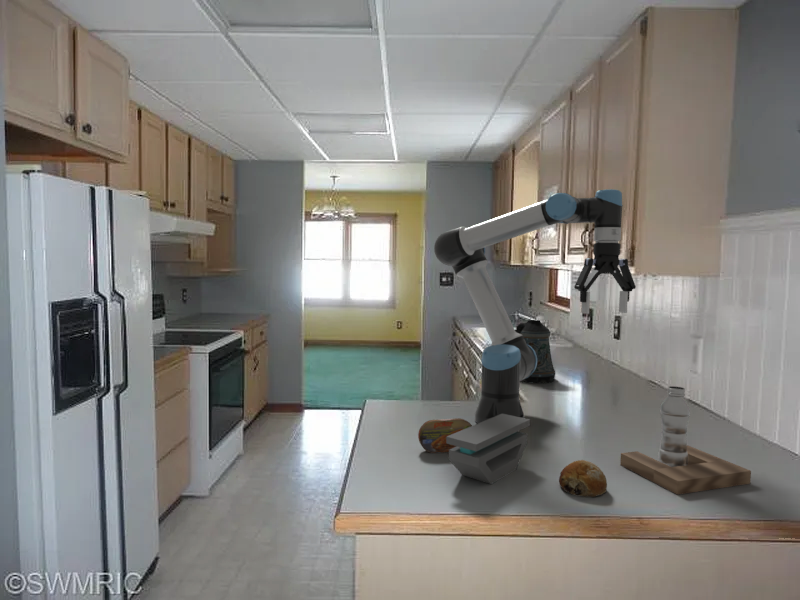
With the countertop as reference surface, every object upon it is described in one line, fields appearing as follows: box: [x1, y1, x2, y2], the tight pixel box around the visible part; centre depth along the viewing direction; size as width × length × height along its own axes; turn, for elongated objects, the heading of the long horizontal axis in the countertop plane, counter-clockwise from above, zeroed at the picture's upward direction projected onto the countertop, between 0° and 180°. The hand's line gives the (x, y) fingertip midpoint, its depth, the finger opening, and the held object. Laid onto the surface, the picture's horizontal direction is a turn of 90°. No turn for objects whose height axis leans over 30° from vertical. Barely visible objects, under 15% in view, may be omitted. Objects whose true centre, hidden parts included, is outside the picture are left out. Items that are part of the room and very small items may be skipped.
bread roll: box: [558, 459, 608, 498], centre depth 123 cm, size 10×10×8 cm
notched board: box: [619, 445, 752, 495], centre depth 132 cm, size 21×18×3 cm
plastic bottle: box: [657, 385, 691, 467], centre depth 134 cm, size 6×7×20 cm
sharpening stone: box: [446, 414, 531, 485], centre depth 131 cm, size 25×8×11 cm, turn 140°
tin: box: [417, 418, 473, 454], centre depth 146 cm, size 15×3×8 cm, turn 101°
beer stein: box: [515, 319, 556, 384], centre depth 234 cm, size 16×19×25 cm
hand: (604, 313), depth 167 cm, fingers open, 13 cm apart
